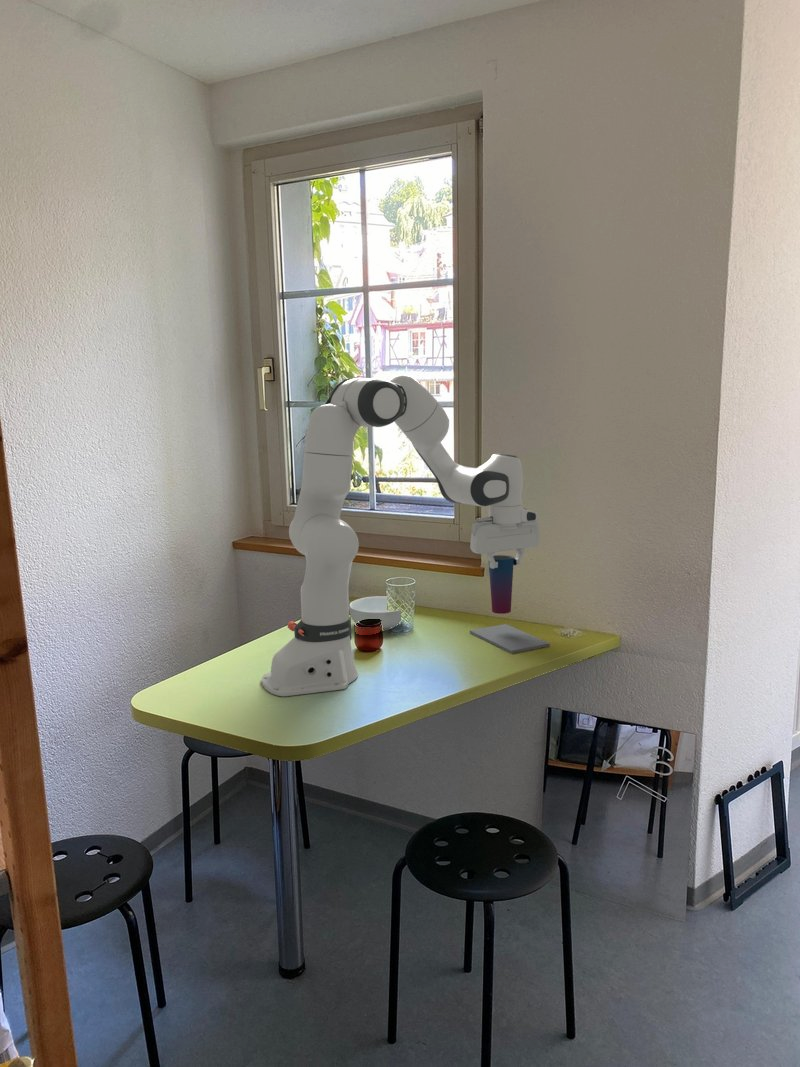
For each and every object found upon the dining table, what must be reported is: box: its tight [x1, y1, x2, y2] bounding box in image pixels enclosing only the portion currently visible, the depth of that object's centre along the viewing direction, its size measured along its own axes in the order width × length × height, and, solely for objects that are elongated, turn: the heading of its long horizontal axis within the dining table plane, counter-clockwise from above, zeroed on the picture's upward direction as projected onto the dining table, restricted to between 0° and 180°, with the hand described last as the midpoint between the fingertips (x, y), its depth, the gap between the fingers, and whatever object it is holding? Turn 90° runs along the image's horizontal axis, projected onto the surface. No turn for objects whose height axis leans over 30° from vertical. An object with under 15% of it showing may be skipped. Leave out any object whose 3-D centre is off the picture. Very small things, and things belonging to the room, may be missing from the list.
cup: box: [487, 554, 515, 615], centre depth 215 cm, size 7×7×15 cm
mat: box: [469, 623, 551, 654], centre depth 215 cm, size 12×20×1 cm, turn 27°
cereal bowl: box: [349, 595, 401, 632], centre depth 228 cm, size 17×17×7 cm
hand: (505, 566), depth 212 cm, fingers closed on cup, 6 cm apart
